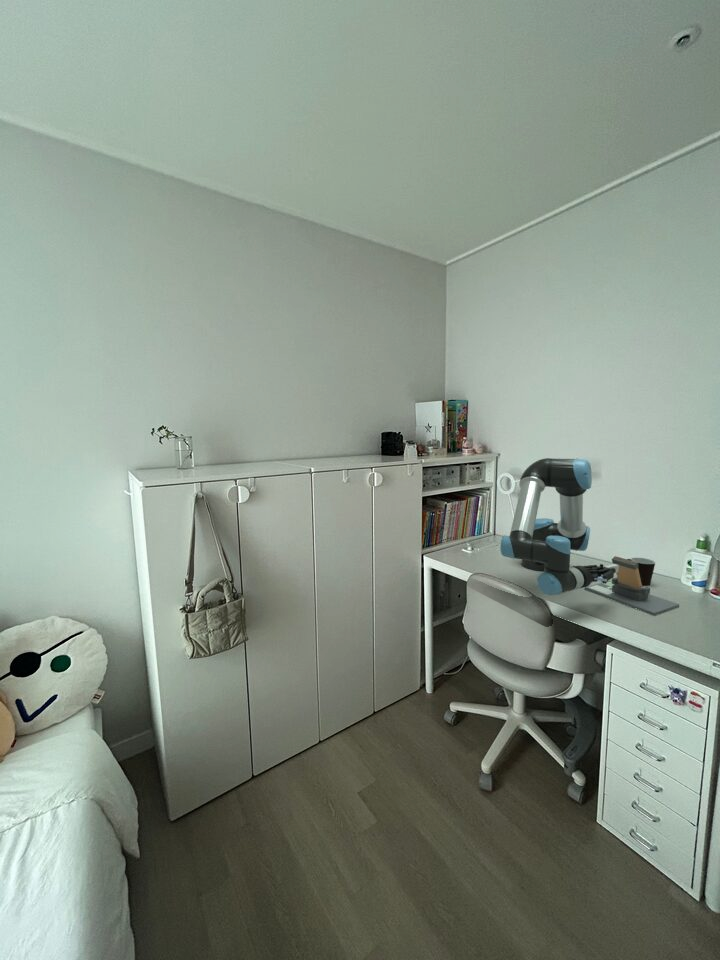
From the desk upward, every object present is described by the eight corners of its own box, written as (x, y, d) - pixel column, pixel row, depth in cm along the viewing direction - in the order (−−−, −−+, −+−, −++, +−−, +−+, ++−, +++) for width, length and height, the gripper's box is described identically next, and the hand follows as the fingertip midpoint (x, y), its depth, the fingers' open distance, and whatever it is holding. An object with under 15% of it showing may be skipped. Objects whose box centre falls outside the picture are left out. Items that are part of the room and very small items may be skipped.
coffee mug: (657, 587, 162) (659, 564, 161) (634, 586, 164) (636, 563, 163) (643, 577, 173) (645, 555, 172) (622, 576, 175) (623, 554, 174)
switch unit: (584, 589, 161) (585, 575, 160) (608, 582, 168) (609, 569, 167) (654, 615, 138) (655, 599, 137) (679, 606, 144) (680, 591, 144)
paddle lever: (617, 584, 156) (610, 558, 152) (620, 581, 157) (614, 555, 153) (641, 592, 148) (635, 565, 144) (644, 589, 149) (638, 562, 145)
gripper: (558, 581, 143) (599, 572, 153) (592, 594, 131) (634, 583, 141) (559, 562, 142) (600, 553, 152) (593, 573, 130) (635, 563, 140)
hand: (616, 568), depth 147 cm, fingers closed
